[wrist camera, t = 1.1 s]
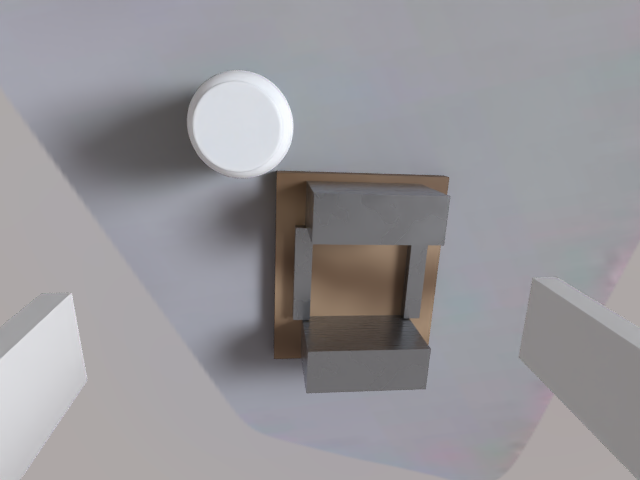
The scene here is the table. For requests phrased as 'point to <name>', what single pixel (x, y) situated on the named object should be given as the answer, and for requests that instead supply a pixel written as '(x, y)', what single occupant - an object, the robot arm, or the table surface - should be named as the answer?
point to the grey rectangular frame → (366, 330)
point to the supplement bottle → (240, 124)
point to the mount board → (343, 264)
